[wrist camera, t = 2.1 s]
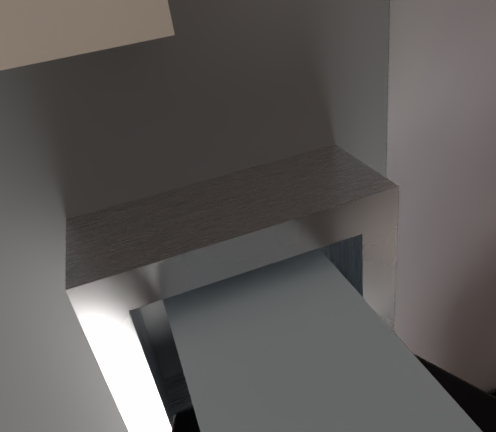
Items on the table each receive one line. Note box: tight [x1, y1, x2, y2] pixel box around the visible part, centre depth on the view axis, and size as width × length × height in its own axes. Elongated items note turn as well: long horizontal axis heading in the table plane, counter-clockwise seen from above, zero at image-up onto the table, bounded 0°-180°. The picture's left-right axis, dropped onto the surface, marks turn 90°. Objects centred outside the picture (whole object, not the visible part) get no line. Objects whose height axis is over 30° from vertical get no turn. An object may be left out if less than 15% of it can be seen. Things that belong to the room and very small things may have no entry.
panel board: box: [0, 0, 390, 432], centre depth 9 cm, size 14×22×1 cm, turn 8°
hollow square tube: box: [65, 144, 399, 432], centre depth 11 cm, size 6×6×2 cm
